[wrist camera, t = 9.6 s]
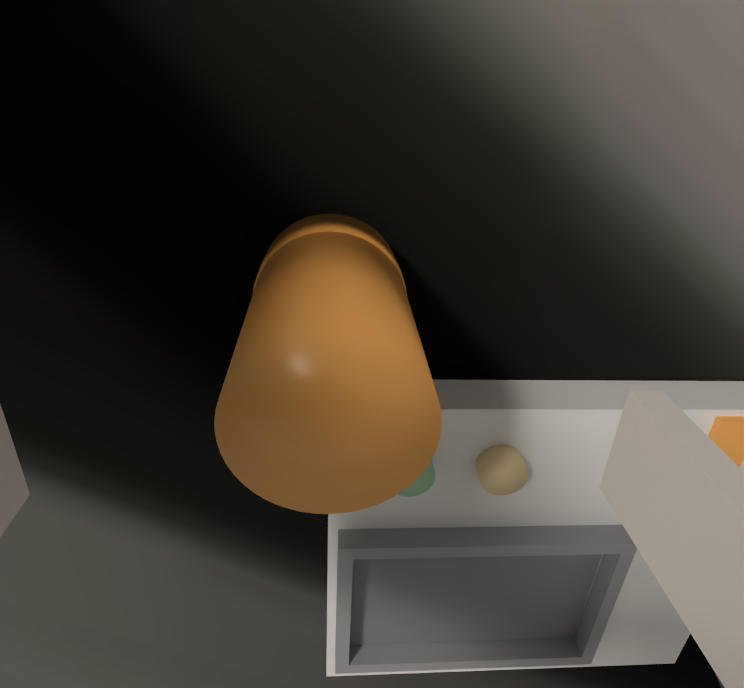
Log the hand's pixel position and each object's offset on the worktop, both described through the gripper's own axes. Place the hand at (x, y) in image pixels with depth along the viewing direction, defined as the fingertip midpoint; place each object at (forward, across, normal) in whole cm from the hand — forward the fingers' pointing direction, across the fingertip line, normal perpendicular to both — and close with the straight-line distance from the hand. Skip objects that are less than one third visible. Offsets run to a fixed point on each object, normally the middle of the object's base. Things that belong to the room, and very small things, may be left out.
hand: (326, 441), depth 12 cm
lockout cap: (+8, 0, 0) cm, 8 cm away
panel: (+9, +9, -12) cm, 17 cm away
